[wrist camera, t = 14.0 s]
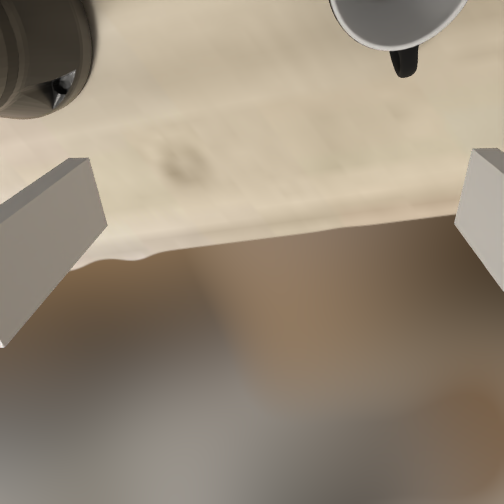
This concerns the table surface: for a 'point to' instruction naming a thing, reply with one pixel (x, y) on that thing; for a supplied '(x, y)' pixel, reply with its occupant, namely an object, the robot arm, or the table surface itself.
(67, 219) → the robot arm
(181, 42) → the table surface
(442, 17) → the mug
